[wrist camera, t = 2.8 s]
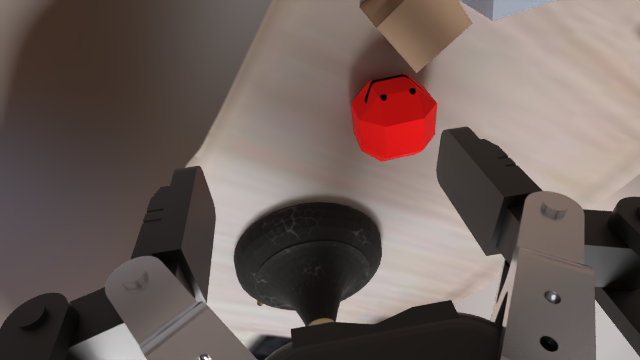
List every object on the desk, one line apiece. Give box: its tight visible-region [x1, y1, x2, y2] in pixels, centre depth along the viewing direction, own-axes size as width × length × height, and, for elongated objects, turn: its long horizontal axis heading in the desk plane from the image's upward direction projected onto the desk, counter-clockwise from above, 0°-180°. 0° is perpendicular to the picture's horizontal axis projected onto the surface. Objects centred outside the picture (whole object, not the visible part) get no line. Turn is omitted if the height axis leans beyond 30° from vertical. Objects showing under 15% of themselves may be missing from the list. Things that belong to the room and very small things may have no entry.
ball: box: [351, 74, 437, 162], centre depth 39 cm, size 8×8×8 cm
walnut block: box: [360, 0, 472, 73], centre depth 33 cm, size 6×6×6 cm
